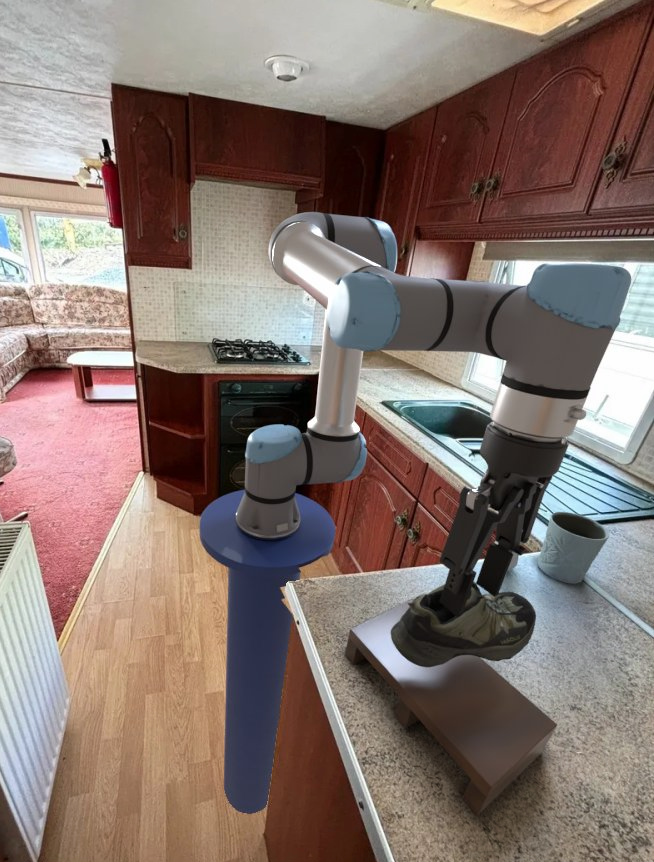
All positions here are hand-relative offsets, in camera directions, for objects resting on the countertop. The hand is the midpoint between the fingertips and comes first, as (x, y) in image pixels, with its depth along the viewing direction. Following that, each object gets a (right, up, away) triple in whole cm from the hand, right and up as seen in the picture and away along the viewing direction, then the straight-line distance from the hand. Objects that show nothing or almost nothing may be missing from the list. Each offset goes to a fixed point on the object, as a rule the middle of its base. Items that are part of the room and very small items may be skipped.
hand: (469, 598), depth 51 cm
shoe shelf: (-1, -18, +8) cm, 20 cm away
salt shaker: (+24, -7, +37) cm, 45 cm away
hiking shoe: (+1, -7, +5) cm, 9 cm away
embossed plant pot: (+37, -8, +38) cm, 53 cm away
